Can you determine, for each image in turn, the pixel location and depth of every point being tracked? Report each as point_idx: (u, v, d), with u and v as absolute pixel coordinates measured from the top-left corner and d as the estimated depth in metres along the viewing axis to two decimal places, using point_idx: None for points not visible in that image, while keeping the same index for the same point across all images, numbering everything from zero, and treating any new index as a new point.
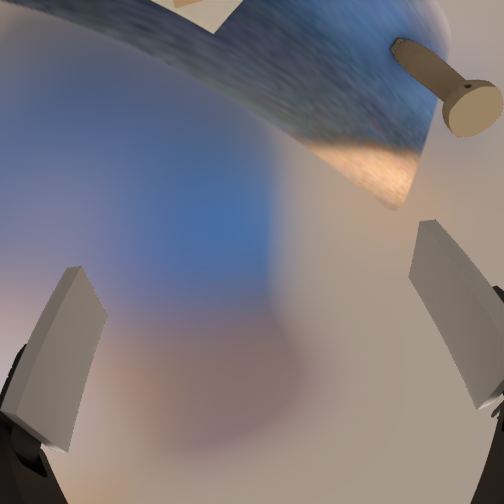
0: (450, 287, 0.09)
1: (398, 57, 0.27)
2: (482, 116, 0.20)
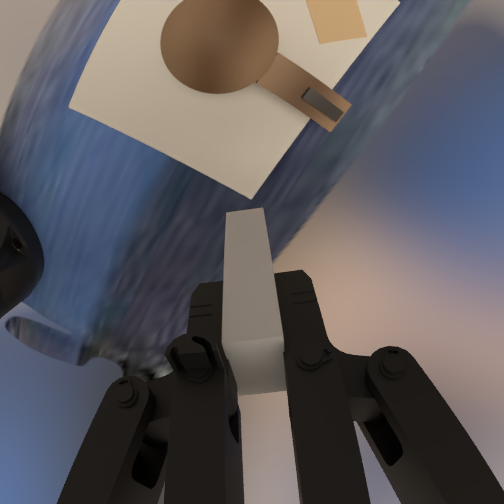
0: None
1: None
2: None
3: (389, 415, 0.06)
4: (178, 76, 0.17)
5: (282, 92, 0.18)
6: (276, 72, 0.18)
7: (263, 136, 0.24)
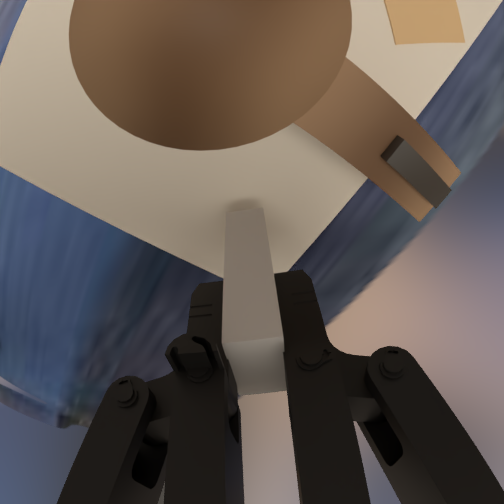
0: None
1: None
2: None
3: (389, 415, 0.06)
4: (109, 110, 0.07)
5: (344, 144, 0.09)
6: (336, 99, 0.08)
7: (289, 205, 0.14)
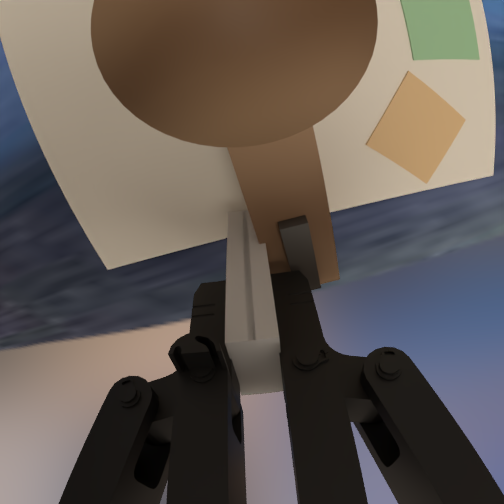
0: None
1: None
2: None
3: (385, 416, 0.06)
4: (97, 30, 0.06)
5: (254, 192, 0.10)
6: (276, 152, 0.09)
7: (177, 207, 0.14)
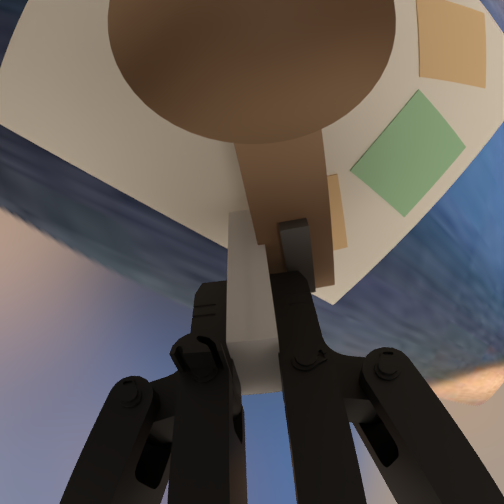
0: None
1: None
2: None
3: (384, 417, 0.06)
4: (114, 14, 0.05)
5: (257, 191, 0.09)
6: (283, 152, 0.09)
7: (71, 114, 0.11)
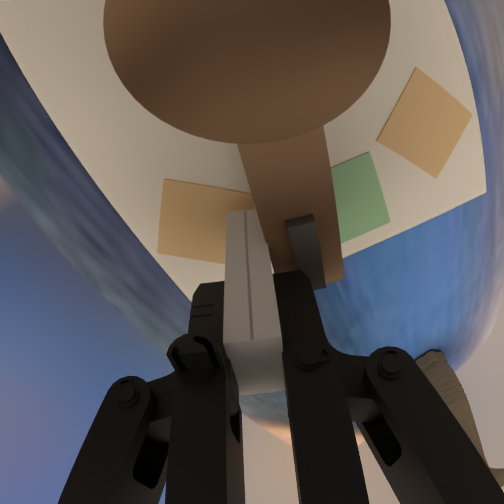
0: None
1: None
2: None
3: (388, 415, 0.06)
4: (110, 21, 0.05)
5: (263, 190, 0.09)
6: (286, 150, 0.09)
7: (50, 33, 0.09)
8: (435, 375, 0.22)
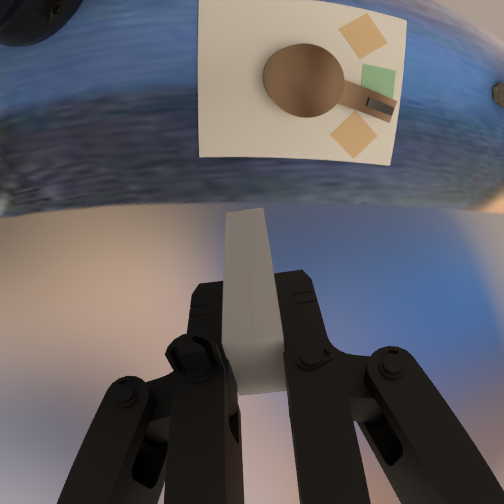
0: None
1: None
2: None
3: (389, 415, 0.06)
4: (287, 110, 0.26)
5: (353, 105, 0.27)
6: (346, 92, 0.26)
7: (248, 137, 0.32)
8: (503, 95, 0.26)
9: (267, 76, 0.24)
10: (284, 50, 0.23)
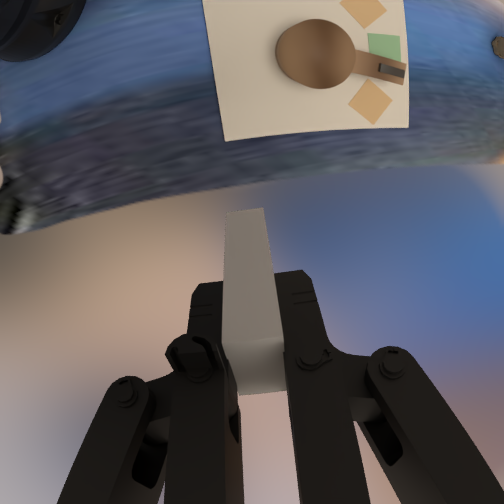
0: None
1: None
2: None
3: (389, 415, 0.06)
4: (306, 84, 0.26)
5: (366, 72, 0.26)
6: (358, 61, 0.25)
7: (270, 116, 0.32)
8: (503, 47, 0.24)
9: (282, 54, 0.24)
10: (294, 27, 0.22)
